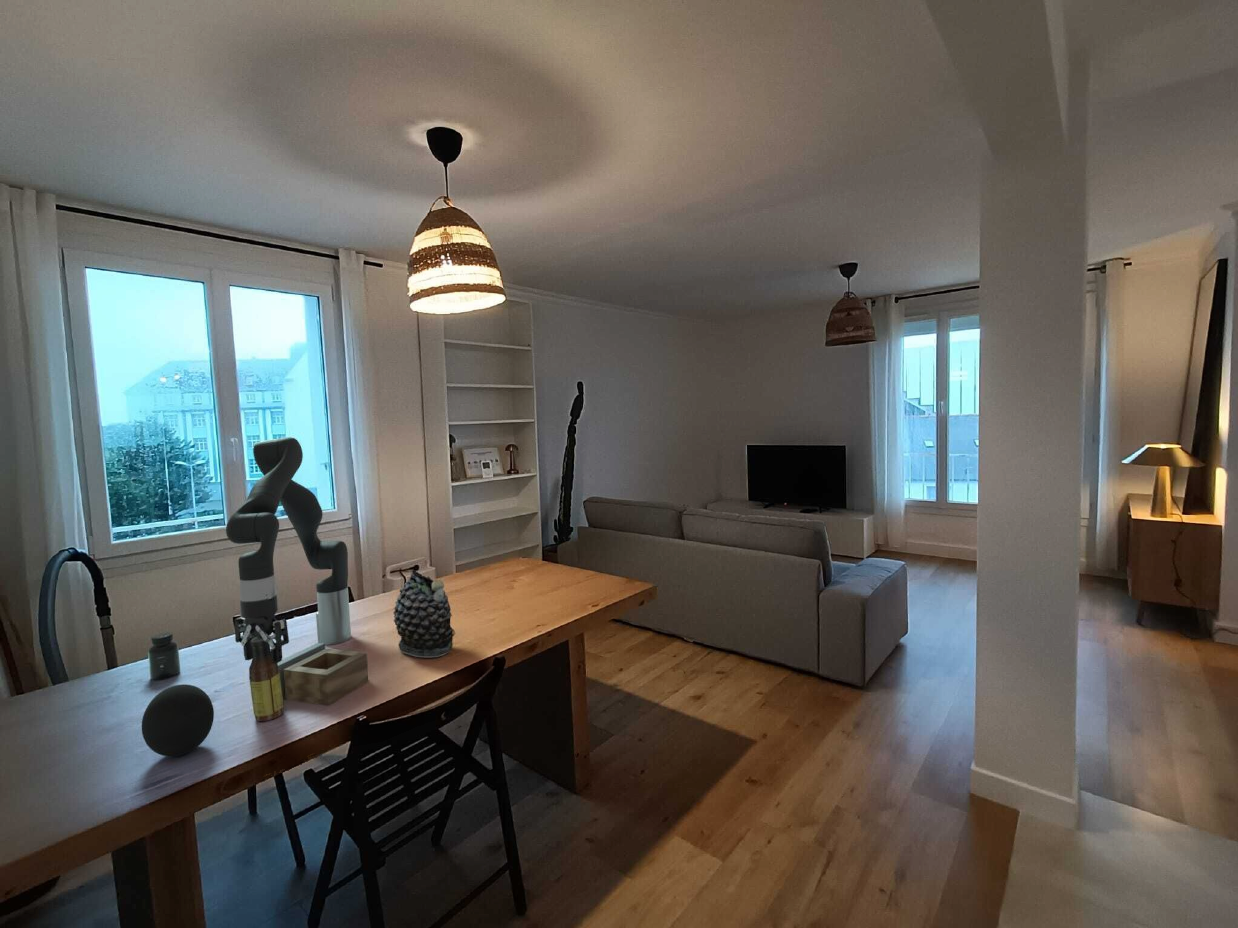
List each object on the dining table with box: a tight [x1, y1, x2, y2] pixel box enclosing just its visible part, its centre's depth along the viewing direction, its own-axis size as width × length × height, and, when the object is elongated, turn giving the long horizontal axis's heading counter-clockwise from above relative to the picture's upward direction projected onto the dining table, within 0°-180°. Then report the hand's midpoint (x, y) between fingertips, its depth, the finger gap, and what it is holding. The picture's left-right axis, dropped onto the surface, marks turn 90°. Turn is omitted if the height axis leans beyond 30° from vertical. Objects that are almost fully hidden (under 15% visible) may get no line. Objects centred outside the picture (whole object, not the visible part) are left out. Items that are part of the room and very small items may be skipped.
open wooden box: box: [284, 648, 369, 706], centre depth 151 cm, size 14×14×8 cm
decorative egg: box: [141, 683, 215, 758], centre depth 123 cm, size 12×12×15 cm
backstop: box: [278, 642, 326, 699], centre depth 154 cm, size 2×16×9 cm, turn 162°
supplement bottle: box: [147, 632, 181, 681], centre depth 163 cm, size 7×7×12 cm
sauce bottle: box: [248, 637, 284, 722], centre depth 137 cm, size 6×6×20 cm
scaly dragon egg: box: [393, 569, 456, 659], centre depth 175 cm, size 21×15×25 cm
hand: (263, 660), depth 137 cm, fingers open, 8 cm apart
